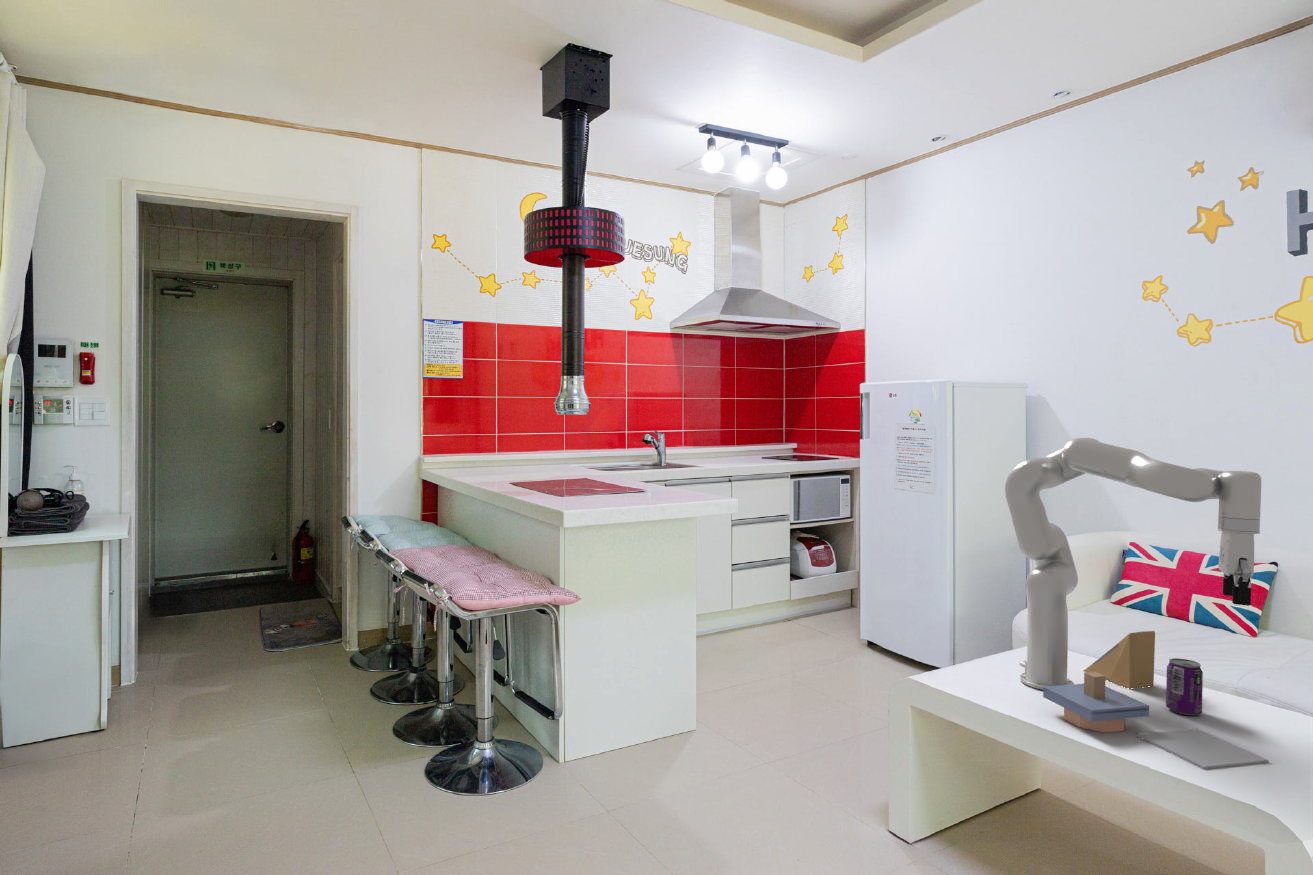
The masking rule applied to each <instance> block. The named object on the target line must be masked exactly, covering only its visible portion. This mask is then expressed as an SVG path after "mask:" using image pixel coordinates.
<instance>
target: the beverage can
mask: <svg viewBox="0 0 1313 875" xmlns="http://www.w3.org/2000/svg"><path fill="white" fill-rule="evenodd" d="M1203 676H1204V674H1203V669H1202V668H1201V664H1200V662H1197V661H1195V660H1192V659H1187V658H1177V657H1174V658H1169V663H1168V664H1167V666H1166V681H1165V682H1166V688H1165V690H1166V691H1165V692H1166V694H1165V696H1166V697H1165V706H1166V708H1168V709H1169V710H1171V711H1172V712H1174V713H1175V714H1178V713H1179V714H1180V715H1182V714H1184V715H1183V716H1188V715H1190V716H1191V715H1192V717H1193V715H1194V716H1197V715H1200V714H1202V713H1203V688H1204V686H1203V684H1204V682H1203V681H1204V678H1203ZM1179 714H1178V715H1179Z"/></svg>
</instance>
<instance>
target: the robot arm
mask: <svg viewBox="0 0 1313 875" xmlns="http://www.w3.org/2000/svg"><path fill="white" fill-rule="evenodd" d="M1085 474H1088V475H1092V476H1096V477H1101V478H1104V479H1107V480H1111V481H1114V482H1119V483H1120V484H1121V483H1122V484H1125V485H1129V486H1131V487H1135V488H1139V489H1143V490H1145V491H1148V492H1151V493H1155V494H1159V495H1163V496H1164V497H1165V496H1166V497H1168V498H1169V497H1170V498H1174V499H1177V500H1181V501H1185V502H1191V503H1201V502H1205V501H1207V500H1218V517H1217V518H1218V519H1217V530H1218V531H1219V532H1221V534H1220V535H1221V536H1220V542H1219V554H1218V566H1217V567H1218V570H1219V571H1221V572H1222V573H1223V577H1222V594H1223V595H1224V596H1229V597H1230V596H1231V597H1232V600H1231V603H1232V604H1233V605H1237V606H1245V607H1246V606H1248V607H1250V606H1251V605H1252V603H1251V602H1252V582H1251V581H1252V579H1251V578H1252V577H1253V576H1254V571H1255V535H1259V534H1260V533H1261V531H1260V530H1261V506H1262V505H1261V504H1262V501H1261V500H1262V476H1261V475H1260V474H1259V473H1257V472H1253V471H1245V470H1244V471H1242V470H1227V471H1226V470H1225V471H1223V470H1217V469H1209V468H1204V467H1202V468H1201V467H1198V468H1189V467H1185V466H1181V465H1177V464H1173V463H1170V462H1169V463H1168V462H1165V461H1161V460H1158V459H1154V458H1152V457H1151V456H1150V457H1149V456H1148V455H1146V454H1145V453H1143V452H1141V451H1138V450H1134V449H1130V448H1127V447H1121V446H1117V445H1114V444H1113V445H1112V444H1110V443H1106V442H1102V441H1099V440H1098V439H1095V438H1092V437H1077V438H1076V437H1075V438H1073V439H1071V440H1069V441H1068V442H1067V443H1065V445H1064V446H1063V448H1062V449H1059V450H1057V451H1055V452H1053V453H1051V454H1048V455H1046V456H1044V457H1034V458H1033V457H1032V458H1028V459H1026V460H1023V461H1022V462H1020V463H1018V465H1016V466H1015V467H1014V468H1012V470H1011V471H1010V472H1009V473H1008V475H1007V477H1006V481H1005V485H1004V494H1005V499H1006V503H1007V507H1008V509H1009V513H1010V517H1011V521H1012V526H1013V528H1014V533H1015V536H1016V539H1017V544H1018V546H1019V549H1020V551H1021V553H1022V555H1023V556H1024V557H1025V558H1027V559H1029V560H1031V561H1035V564H1036V567H1035V568H1033V569H1032V570H1031V571H1030V572H1029V573H1028V575H1027V577H1026V581H1025V595H1026V596H1025V597H1026V605H1027V606H1026V607H1027V608H1026V609H1027V618H1026V619H1027V623H1026V624H1027V630H1026V631H1027V633H1026V634H1027V635H1026V636H1027V637H1026V640H1027V642H1026V647H1027V648H1026V649H1027V650H1026V655H1027V656H1026V658H1025V659H1024V661H1022V660H1021V661H1020V662H1019V666H1021V667H1022V668H1024V672H1022V674H1020V676H1019V679H1020V681H1021V683H1023V684H1024V685H1026V686H1028V687H1031V688H1034V689H1038V690H1041V691H1043V687H1046V686H1059V685H1072V684H1075V683H1074V682H1073V681H1072V679H1070V678H1068V658H1069V657H1068V653H1069V652H1068V651H1069V650H1068V647H1069V646H1068V645H1069V644H1068V643H1069V614H1068V612H1069V611H1068V604H1067V596H1068V595H1069V594H1071V593H1072V592H1073V591H1075V589H1076V587H1077V585H1078V580H1079V579H1078V578H1079V577H1078V572H1077V568H1076V566H1075V565H1076V564H1075V562H1074V558H1073V556H1072V552H1071V548H1070V544H1069V541H1068V538H1067V536H1066V535H1065V533H1064V531H1063V530H1062V529H1061V528H1060V526H1058V525H1056V524H1055V523H1052V522H1049V519H1048V515H1047V512H1046V507H1045V505H1044V503H1043V501H1042V499H1041V496H1040V492H1041V491H1042V490H1047V489H1053V488H1054V487H1058V486H1060V485H1062V484H1065V483H1067V482H1069V481H1071V480H1073V479H1076V478H1079V477H1080V476H1083V475H1085Z"/></svg>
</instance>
